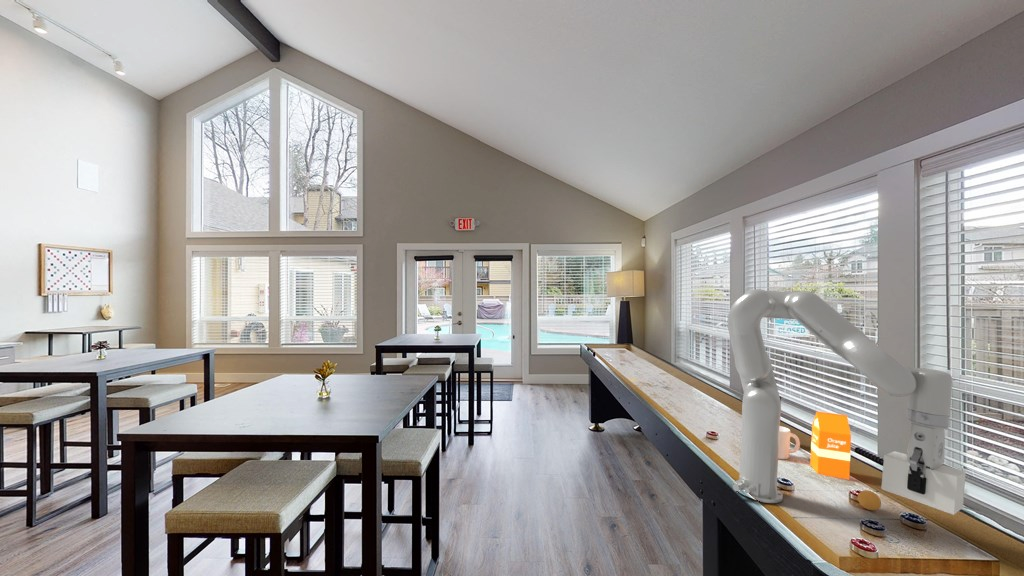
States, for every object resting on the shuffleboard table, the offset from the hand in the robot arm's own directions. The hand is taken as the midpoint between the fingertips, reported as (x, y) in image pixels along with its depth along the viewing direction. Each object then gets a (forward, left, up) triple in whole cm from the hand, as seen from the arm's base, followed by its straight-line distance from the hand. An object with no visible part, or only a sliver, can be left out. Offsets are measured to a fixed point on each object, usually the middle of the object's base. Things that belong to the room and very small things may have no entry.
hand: (921, 488), depth 105 cm
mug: (+24, +43, -12) cm, 51 cm away
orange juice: (+24, +28, -12) cm, 39 cm away
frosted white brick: (0, 0, -3) cm, 3 cm away
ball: (+4, +11, -9) cm, 15 cm away
